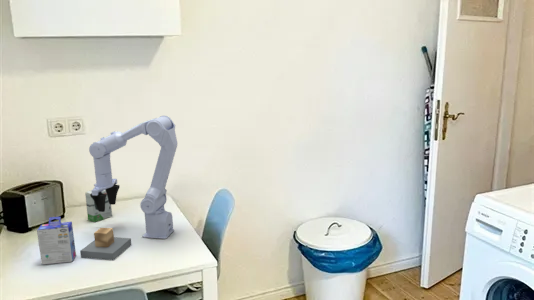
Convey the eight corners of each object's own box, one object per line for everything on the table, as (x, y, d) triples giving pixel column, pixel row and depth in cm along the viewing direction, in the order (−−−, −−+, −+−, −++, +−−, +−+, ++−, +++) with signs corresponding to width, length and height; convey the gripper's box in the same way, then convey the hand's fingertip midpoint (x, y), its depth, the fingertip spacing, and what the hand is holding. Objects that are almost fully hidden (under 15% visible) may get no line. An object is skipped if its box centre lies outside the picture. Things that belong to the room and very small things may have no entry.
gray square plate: (131, 246, 164) (130, 238, 164) (113, 261, 153) (112, 253, 152) (100, 243, 167) (100, 236, 166) (81, 259, 155) (80, 250, 155)
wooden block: (114, 241, 161) (112, 228, 160) (107, 247, 157) (106, 233, 156) (102, 241, 162) (100, 227, 161) (95, 246, 158) (93, 232, 156)
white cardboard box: (94, 222, 185) (91, 194, 183) (87, 220, 188) (84, 192, 186) (113, 216, 192) (110, 188, 189) (106, 213, 195) (103, 186, 192)
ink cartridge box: (76, 254, 158) (71, 214, 154) (73, 262, 152) (68, 220, 149) (45, 257, 156) (39, 217, 153) (41, 265, 151) (35, 223, 147)
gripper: (103, 167, 179) (107, 200, 182) (82, 178, 165) (86, 214, 168) (120, 167, 178) (124, 201, 181) (100, 178, 164) (104, 215, 167)
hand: (107, 207), depth 174 cm, fingers open, 7 cm apart
